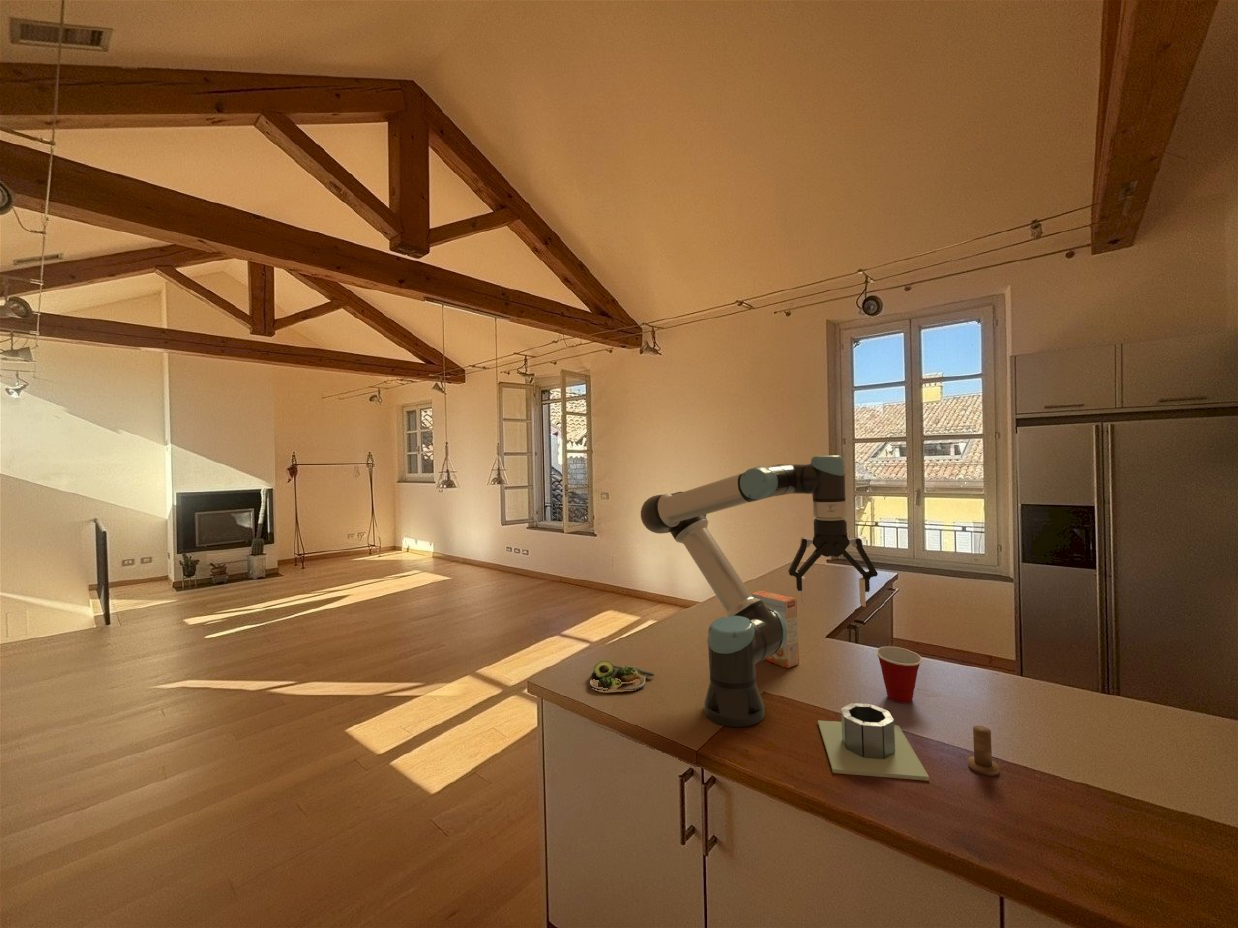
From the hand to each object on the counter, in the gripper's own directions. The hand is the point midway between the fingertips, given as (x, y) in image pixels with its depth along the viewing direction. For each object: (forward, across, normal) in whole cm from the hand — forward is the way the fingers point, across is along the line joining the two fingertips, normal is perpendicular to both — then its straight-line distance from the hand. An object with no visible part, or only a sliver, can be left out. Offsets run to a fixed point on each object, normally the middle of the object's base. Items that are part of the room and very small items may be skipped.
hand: (833, 604), depth 128 cm
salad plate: (+29, -60, +15) cm, 68 cm away
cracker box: (+29, -12, +36) cm, 48 cm away
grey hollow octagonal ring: (+28, +4, -13) cm, 31 cm away
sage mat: (+28, +4, -13) cm, 31 cm away
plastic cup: (+29, +18, +14) cm, 36 cm away
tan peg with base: (+28, +25, -16) cm, 41 cm away
